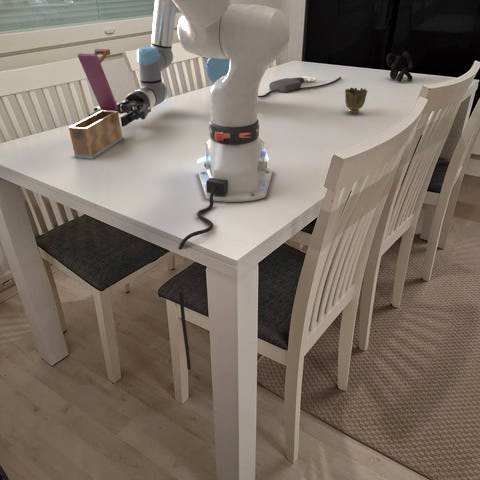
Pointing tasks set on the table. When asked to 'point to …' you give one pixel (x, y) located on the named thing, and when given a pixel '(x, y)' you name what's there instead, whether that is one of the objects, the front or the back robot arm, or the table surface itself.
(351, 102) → the cup
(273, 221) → the table surface
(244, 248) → the table surface
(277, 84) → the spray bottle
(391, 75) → the squiggle
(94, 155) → the chest
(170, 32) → the back robot arm
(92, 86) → the lid
